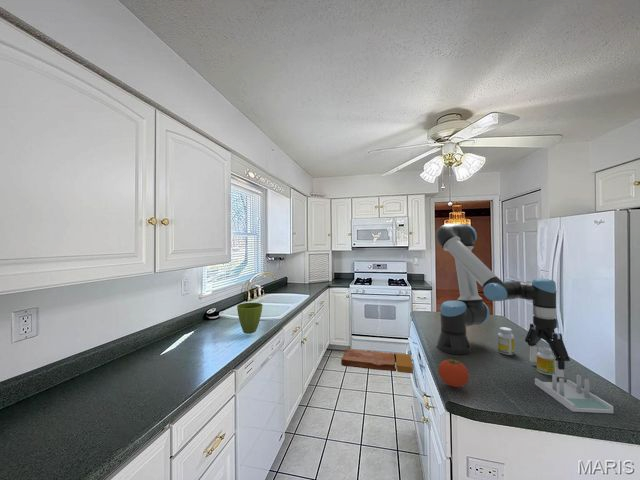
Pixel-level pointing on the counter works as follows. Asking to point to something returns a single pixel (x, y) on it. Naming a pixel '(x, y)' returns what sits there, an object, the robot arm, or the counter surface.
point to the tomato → (453, 373)
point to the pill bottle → (506, 341)
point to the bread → (377, 360)
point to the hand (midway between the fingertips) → (545, 368)
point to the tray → (574, 395)
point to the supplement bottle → (545, 361)
